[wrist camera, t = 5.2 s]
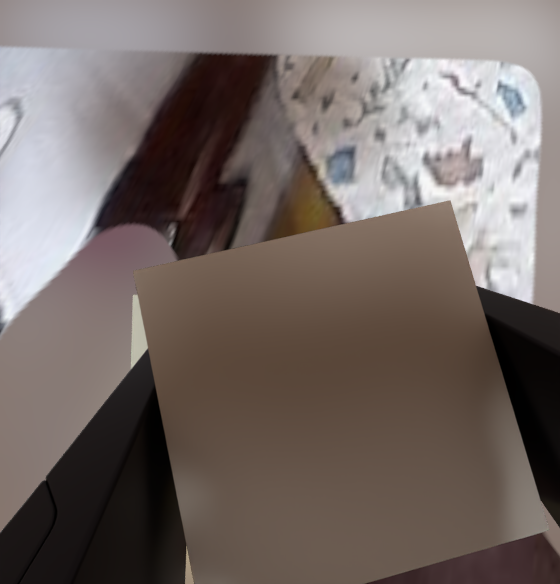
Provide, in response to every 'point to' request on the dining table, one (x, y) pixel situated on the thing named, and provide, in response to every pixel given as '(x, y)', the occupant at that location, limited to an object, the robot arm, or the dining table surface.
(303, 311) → the block
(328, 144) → the dining table surface
